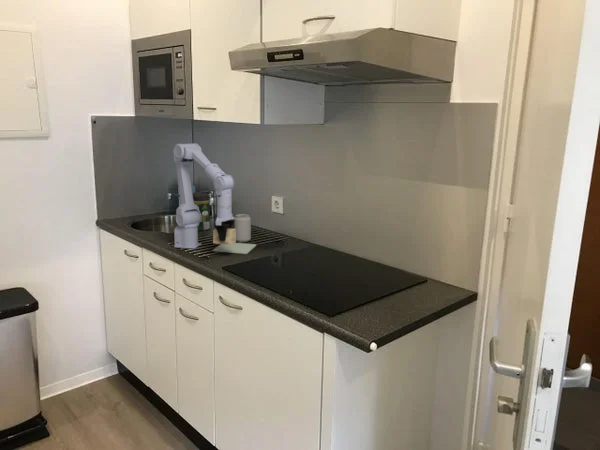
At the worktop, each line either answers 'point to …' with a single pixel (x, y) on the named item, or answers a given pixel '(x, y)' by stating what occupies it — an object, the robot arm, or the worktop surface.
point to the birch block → (229, 237)
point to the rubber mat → (235, 248)
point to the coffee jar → (202, 209)
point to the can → (242, 227)
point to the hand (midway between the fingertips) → (224, 239)
